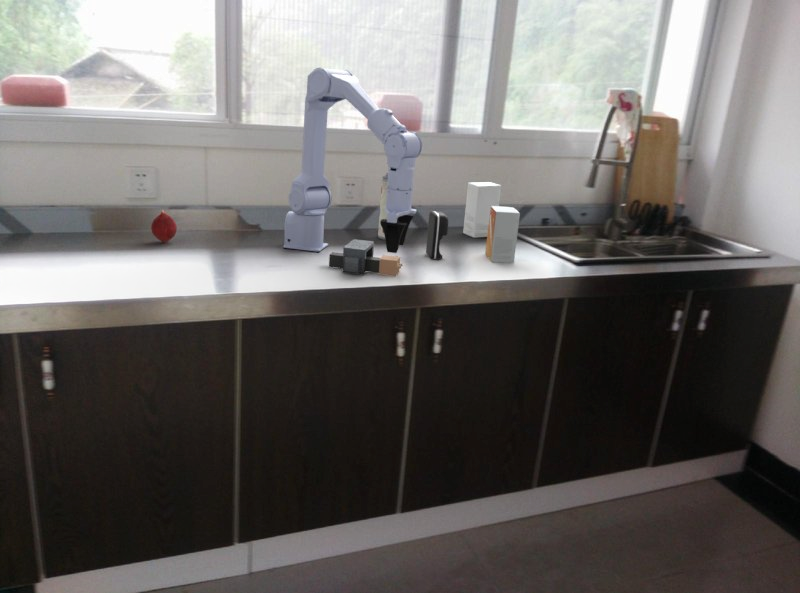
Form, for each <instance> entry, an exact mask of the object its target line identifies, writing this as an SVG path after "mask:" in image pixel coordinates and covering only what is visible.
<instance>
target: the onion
mask: <svg viewBox="0 0 800 593" xmlns="http://www.w3.org/2000/svg"><path fill="white" fill-rule="evenodd" d="M177 226H178V225H177V224H176V222H175V220H174V218H172V217H171V216H170V215H169V214H167V213H166V211H165V210H163V209H162V210H161V211H160V214H159V215H157V216H156V217H155V218H154V219H153V220H152V222H151V227H150V230H151V233H152V234H153V236H154V237H155V238H156V239H157V240H159V242H161V243H163V244H166V243H168V242H169V241H170V240H172V239H173V238H174V237H175V235H176V234H177V228H178V227H177Z"/></svg>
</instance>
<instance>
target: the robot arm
mask: <svg viewBox="0 0 800 593" xmlns="http://www.w3.org/2000/svg"><path fill="white" fill-rule="evenodd" d="M306 80H307V82H306V95H305V98H304V113H303V116H304V118H303V136H302V155H301V157H302V158H301V172H300V174H298V175H297V176H296V177H295V178H294V179H293V180H292V181H291V188H290V192H289V193H288V203H289V207H290V209H291V210H290V211H288V212H287V213H286V215H285V219H284V245H283V248H285V249H290V250H291V249H293V250H301V251H309V252H318V253H319V252H321V251H322V250H323V249H325V248H327V246H329V243H327V242H324V228H325V214H326V213H327V210H328V209H329V207H330V206H331V204H332V192H331V182H330V181H329V180H328V179H327V177H326V176H325V174H324V173H325V158H326V141H327V140H326V139H327V126H328V111H329V109H330V108H332V107H333V106H334V105H335V104H337V103H338V102H341V101H345V100H346V101H347V102H348V103H350V105H352V106H353V107H354V109H356V110H357V111H358V112H359V113H360V114H361V115H362V116H363V117H364V118H366V120H367V123H366V124H367V125H366V126H367V128H368V129H369V131H371V133H372V134H373V135H374V136H375V137H376V138H377V139H378V140H379V141H380V142H381V143H382V144H383V149H384V150H383V151H384V153H385V155H386V159H387V162H386V165H387V168H388V170H387V171H388V172H387V173H388V182H387V196H386V207H385V212H386V213H387V220H386V219H382V220H381V221H380V224H381V226H382V228H383V231H384V235H385V240H384V241H385V245H386V246H385V248H386V252H387V253H392V254H397V253H398V251H399V246H404V243H405V241H406V236H407V233H408V229H409V226H410V224H411V223H412V220H413V218H414V217H415V214H417V212H418V211H417V209H416V208H412V202H413V191H414V181H415V170H416V159H417V158H418V157H419V156H420V154H421V152H422V150H423V144H422V143H423V142H422V140H421V138H420V136H419V134H418V133H417V132H416V131H409V130H408V129H407V127H406V126H405V124H401V123H400V122H399V120H398V119H397V118H396V117H395V116H394V111H392V109H390V108H389V109H387V108H384V107H382V108H380V107H378V106H377V104H376V103H375V102H374V100H373V99H372V97H370V96H369V95H368V93H367V92H366V91H365V89H364V88H363V87H362V86H361V85H360V82H359V81H360V80H359V78H358V77H357V76H355V75H354V73H353V72H352V71H350V70H348V69H343V70H342V69H335V68H334V69H331V68H324V67H317V68H316V67H315V68H314V69H313V70H312V71H311V72H310V73H309V74H308V75H307V79H306Z"/></svg>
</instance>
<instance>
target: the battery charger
mask: <svg viewBox="0 0 800 593" xmlns="http://www.w3.org/2000/svg"><path fill="white" fill-rule="evenodd" d="M448 232H449V218H448V215H446V214H445V213H444V212H442V211H435V210H433V211H430V212H429V214H428V224H427V235H426V247H425V252H426V254H427V256H428V257H430V259H432V260H436V259H437V260H441V259H443V255H442V254H441V251H440V243H441V240H442V239H443V237H444V236H445V237H446V236H448Z"/></svg>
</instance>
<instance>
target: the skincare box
mask: <svg viewBox="0 0 800 593" xmlns="http://www.w3.org/2000/svg"><path fill="white" fill-rule="evenodd" d="M466 191H467V192H466V200H465V201H466V202H465V209H464V210H465V211H464V220H463V221H464V222H463V229H462V230H463V231H462V232H463V234H465V235H466V236H469V237H472V238H487V234H488V226H489V217H490V208H491V206H500V202H501V201H500V200H501V193H502V184H498V183H494V182H491V181H485V182H484V181H483V182H482V181H481V182H480V181H479V182H474V181H473V182H467V190H466Z"/></svg>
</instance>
